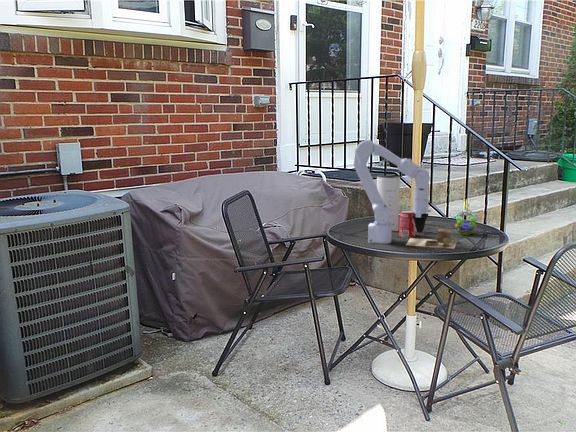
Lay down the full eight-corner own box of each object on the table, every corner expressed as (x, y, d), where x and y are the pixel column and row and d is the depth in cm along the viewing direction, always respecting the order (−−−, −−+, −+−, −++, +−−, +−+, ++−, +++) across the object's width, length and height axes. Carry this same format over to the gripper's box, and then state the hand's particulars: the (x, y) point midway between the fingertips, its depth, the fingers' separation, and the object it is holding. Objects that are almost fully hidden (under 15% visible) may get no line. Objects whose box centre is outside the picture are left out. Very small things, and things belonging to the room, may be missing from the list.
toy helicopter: (455, 229, 243) (456, 198, 241) (475, 230, 241) (477, 199, 238) (454, 241, 220) (455, 207, 217) (476, 242, 217) (478, 208, 215)
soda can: (412, 236, 230) (413, 209, 228) (417, 239, 223) (418, 212, 221) (397, 236, 230) (397, 210, 228) (401, 240, 223) (401, 212, 221)
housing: (437, 242, 213) (437, 231, 213) (438, 239, 218) (438, 229, 217) (449, 243, 212) (450, 232, 211) (450, 240, 216) (451, 229, 215)
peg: (416, 235, 212) (417, 223, 211) (417, 233, 214) (417, 222, 213) (422, 235, 211) (423, 223, 210) (423, 234, 213) (423, 222, 212)
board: (405, 247, 210) (405, 237, 209) (410, 240, 222) (410, 231, 222) (454, 251, 203) (454, 241, 202) (456, 243, 216) (457, 233, 215)
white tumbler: (397, 228, 246) (398, 174, 242) (400, 233, 236) (401, 176, 231) (375, 228, 247) (375, 174, 243) (376, 233, 237) (377, 176, 232)
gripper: (429, 202, 202) (427, 236, 204) (433, 196, 215) (432, 228, 217) (410, 201, 204) (409, 234, 207) (416, 196, 218) (414, 227, 220)
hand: (419, 231), depth 212 cm, fingers closed on peg, 2 cm apart
